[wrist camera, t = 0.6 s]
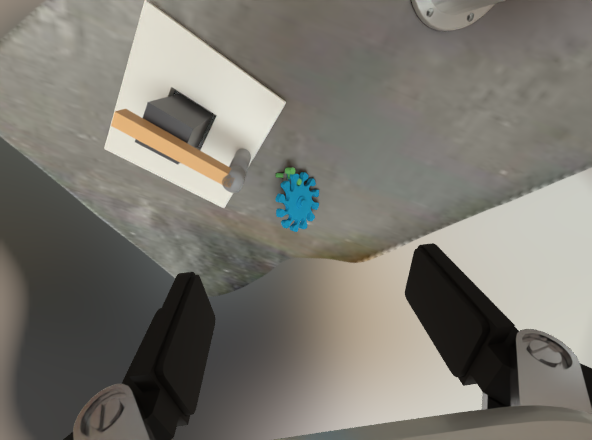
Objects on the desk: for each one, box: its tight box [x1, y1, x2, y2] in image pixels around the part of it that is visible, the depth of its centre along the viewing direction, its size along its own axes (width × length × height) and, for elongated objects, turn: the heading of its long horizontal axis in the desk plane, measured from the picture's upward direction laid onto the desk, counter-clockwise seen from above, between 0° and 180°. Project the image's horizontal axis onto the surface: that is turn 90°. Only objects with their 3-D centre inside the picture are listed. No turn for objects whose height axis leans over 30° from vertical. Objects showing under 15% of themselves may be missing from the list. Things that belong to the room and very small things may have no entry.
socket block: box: [104, 0, 286, 208], centre depth 32 cm, size 20×19×9 cm
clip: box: [111, 109, 246, 193], centre depth 28 cm, size 2×14×3 cm, turn 56°
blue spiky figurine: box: [275, 167, 319, 232], centre depth 41 cm, size 11×6×10 cm
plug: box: [135, 94, 213, 165], centre depth 32 cm, size 5×5×10 cm
